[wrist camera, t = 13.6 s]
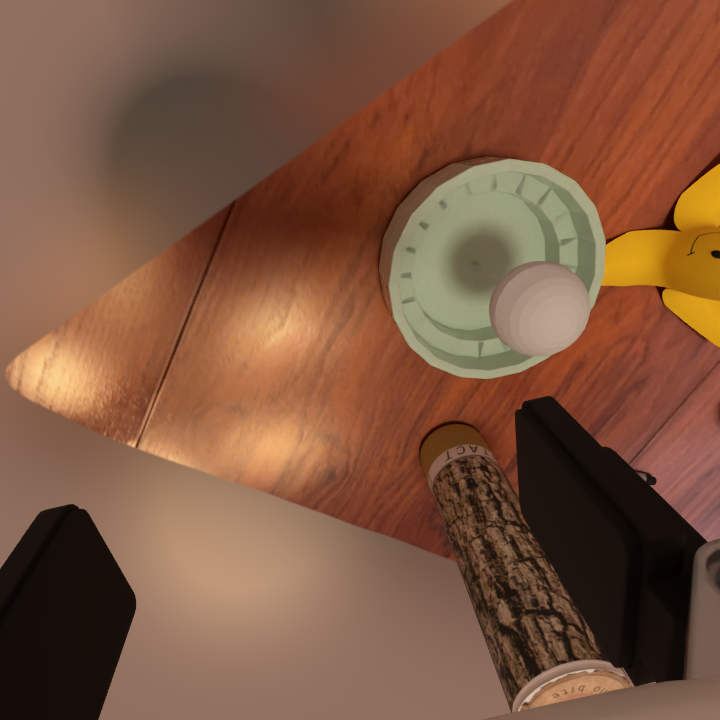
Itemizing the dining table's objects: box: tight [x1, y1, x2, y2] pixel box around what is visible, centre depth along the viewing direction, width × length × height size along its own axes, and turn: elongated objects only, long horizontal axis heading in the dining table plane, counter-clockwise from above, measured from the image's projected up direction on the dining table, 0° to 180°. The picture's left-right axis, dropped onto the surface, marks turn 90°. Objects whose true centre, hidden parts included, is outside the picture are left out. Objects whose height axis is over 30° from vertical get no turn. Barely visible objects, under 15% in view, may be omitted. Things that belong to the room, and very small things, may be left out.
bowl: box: [379, 157, 606, 379], centre depth 39 cm, size 17×17×6 cm
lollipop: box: [473, 261, 590, 356], centre depth 34 cm, size 6×6×15 cm
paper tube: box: [420, 424, 632, 713], centre depth 38 cm, size 7×7×25 cm
